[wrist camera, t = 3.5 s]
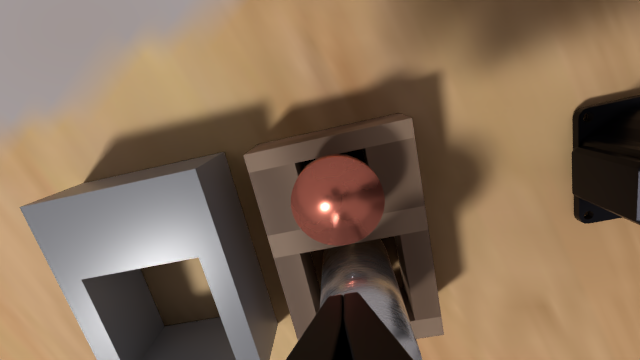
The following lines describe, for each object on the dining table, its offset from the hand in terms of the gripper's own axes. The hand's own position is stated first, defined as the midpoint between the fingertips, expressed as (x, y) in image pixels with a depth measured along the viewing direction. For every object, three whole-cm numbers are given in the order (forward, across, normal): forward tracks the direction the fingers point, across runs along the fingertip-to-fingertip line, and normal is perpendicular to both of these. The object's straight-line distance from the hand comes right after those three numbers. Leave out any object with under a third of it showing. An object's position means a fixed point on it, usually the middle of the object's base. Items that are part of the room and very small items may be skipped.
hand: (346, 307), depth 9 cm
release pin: (+9, 0, -1) cm, 9 cm away
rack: (+10, +10, +2) cm, 15 cm away
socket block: (+10, 0, +2) cm, 10 cm away
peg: (+10, 0, +4) cm, 11 cm away
